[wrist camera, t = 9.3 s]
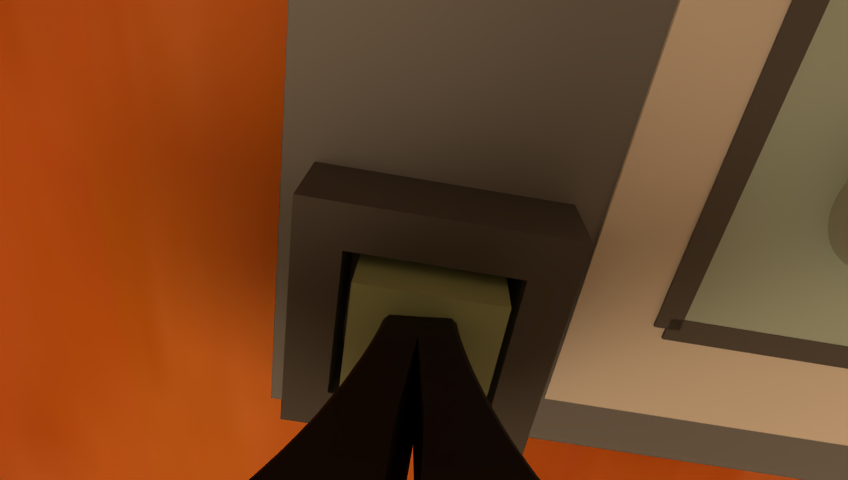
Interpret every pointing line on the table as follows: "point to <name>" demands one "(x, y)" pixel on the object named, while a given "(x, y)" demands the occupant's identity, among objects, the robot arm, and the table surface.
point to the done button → (428, 307)
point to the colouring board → (586, 210)
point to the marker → (839, 225)
